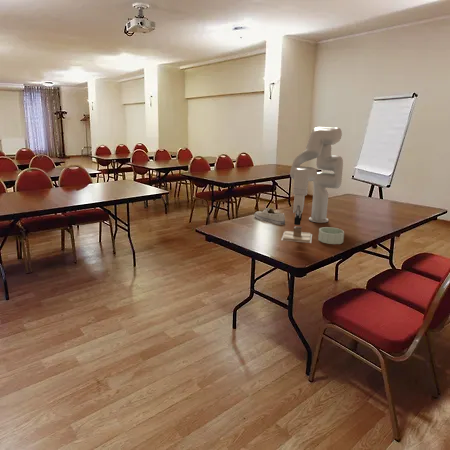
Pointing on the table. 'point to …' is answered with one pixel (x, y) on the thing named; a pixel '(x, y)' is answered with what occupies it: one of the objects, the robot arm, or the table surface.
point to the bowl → (331, 235)
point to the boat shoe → (271, 216)
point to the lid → (297, 235)
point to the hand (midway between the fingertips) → (297, 222)
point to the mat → (298, 241)
